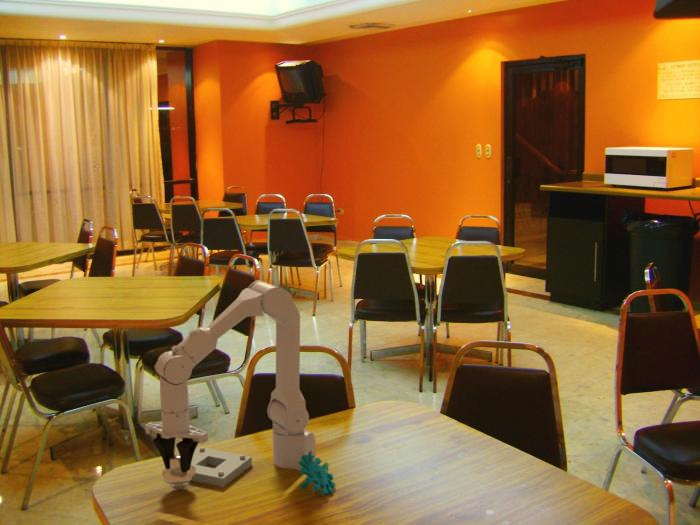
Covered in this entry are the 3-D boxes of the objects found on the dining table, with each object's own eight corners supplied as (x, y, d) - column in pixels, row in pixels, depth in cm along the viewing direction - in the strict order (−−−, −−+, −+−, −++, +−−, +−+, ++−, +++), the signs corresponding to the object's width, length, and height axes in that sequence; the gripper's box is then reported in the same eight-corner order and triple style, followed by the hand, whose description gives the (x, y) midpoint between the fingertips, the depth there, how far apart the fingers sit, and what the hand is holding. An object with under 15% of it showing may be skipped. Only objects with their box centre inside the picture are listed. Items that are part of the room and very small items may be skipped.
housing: (252, 468, 175) (251, 454, 175) (223, 491, 164) (223, 476, 164) (201, 458, 181) (200, 444, 180) (170, 480, 170) (169, 465, 169)
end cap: (203, 479, 165) (200, 452, 163) (183, 495, 158) (181, 466, 157) (176, 473, 168) (174, 446, 166) (156, 489, 161) (153, 461, 160)
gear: (325, 497, 158) (296, 458, 160) (306, 513, 160) (277, 475, 162) (345, 481, 168) (317, 445, 171) (327, 497, 170) (299, 461, 172)
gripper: (134, 410, 159) (138, 470, 161) (192, 420, 153) (195, 483, 155) (155, 399, 165) (158, 457, 168) (212, 408, 159) (214, 469, 162)
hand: (177, 469), depth 162 cm, fingers closed on end cap, 4 cm apart
